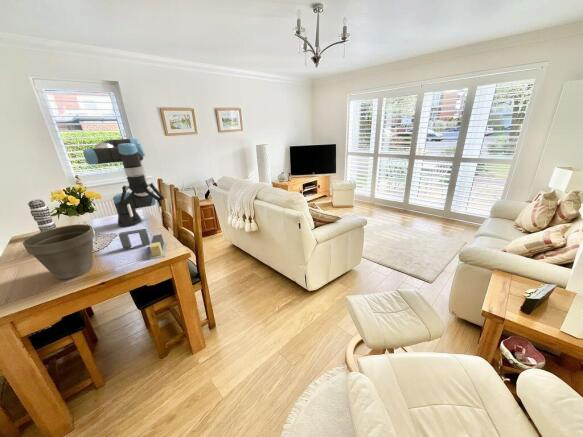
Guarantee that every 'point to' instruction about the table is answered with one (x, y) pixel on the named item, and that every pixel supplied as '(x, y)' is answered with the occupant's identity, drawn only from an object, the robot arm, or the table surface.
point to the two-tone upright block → (157, 245)
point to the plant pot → (64, 250)
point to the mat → (159, 255)
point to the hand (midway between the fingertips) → (146, 214)
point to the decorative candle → (41, 215)
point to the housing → (142, 232)
